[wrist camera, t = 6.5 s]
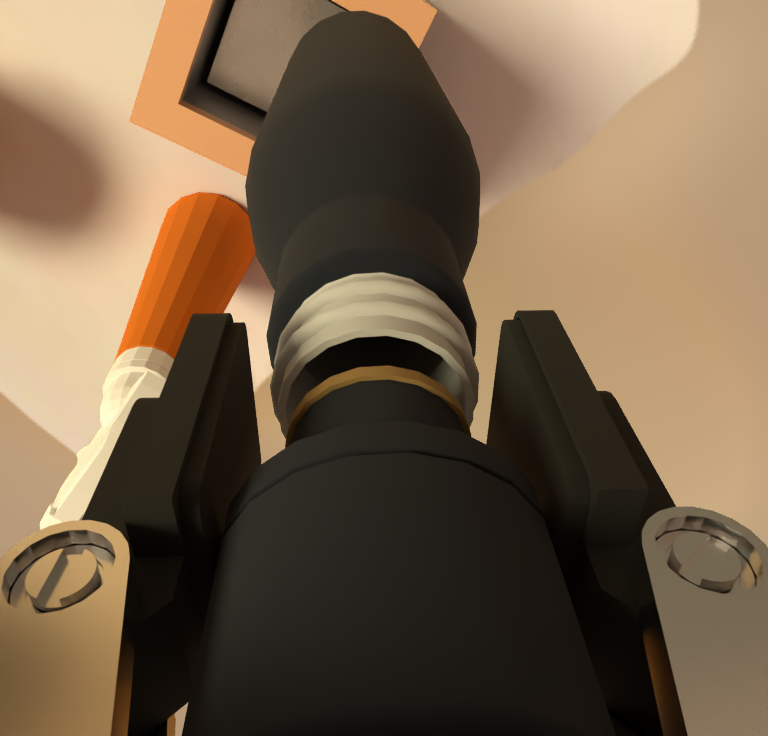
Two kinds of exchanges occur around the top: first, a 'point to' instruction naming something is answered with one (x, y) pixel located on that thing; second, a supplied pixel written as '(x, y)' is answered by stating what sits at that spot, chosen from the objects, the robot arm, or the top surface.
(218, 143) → the sleeve
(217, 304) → the spray bottle
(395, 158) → the black water bottle
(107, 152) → the top surface
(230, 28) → the plunger plate
